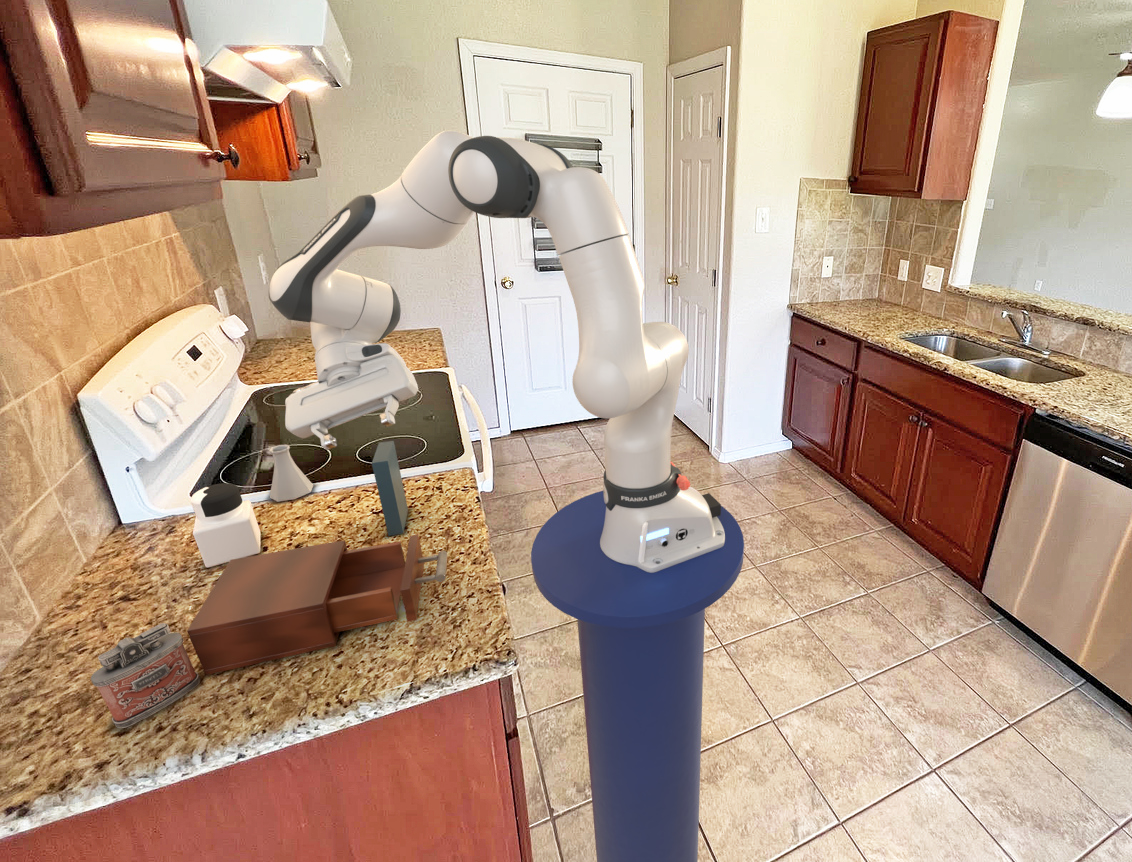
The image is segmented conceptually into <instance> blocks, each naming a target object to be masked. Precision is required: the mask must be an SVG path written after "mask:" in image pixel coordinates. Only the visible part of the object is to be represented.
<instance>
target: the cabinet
mask: <svg viewBox="0 0 1132 862" xmlns="http://www.w3.org/2000/svg"><path fill="white" fill-rule="evenodd" d="M348 550H349V549H348V546H347V543H346V540H345V539H343V540H339V541H331V542H327V543H326V542H325V543H320V544H315V545H309V546H303V547H298V548H297V547H296V548H291V549H285V550H280V551H274V552H267V553H263V554H255V555H251V556H248V557H244V558H238V559H232V560H230V562H227V565H226V567H225V568H224V569H223V571H222V573H221V575H220V576H219V578H218V580H217V581H216V583H215V585H214V586H213V587H212V589H211V591H210V592H209V594H208V595H207V598H206V599H205V601H204V603H203V604H202V606H201V607H200V608H199V610H198V611H197V614H196V615H195V617H194V619H193V620H192V622H191V624H190V625H189V626H188V628H187V630H186V632H187V635H188V637H189V639H190V642H191V644H192V647H193V649H194V651H195V654H196V656H197V658H198V661H199V663H200V666H201V668H202V670H203V672H204V674H205V676H208V675H213V674H218V673H222V672H226V671H231V670H234V669H238V668H244V667H247V666H253V665H257V664H261V663H265V662H271V661H275V660H278V659H279V660H280V659H284V658H288V657H293V656H298V655H301V654H306V653H310V652H314V651H318V650H324V649H328V648H333V647H336V646H337V642H338V639H339V635H340V632H336V633H334V630H333V627H332V624H331V620H330V617H329V614H328V610H327V607H326V601H327V598H328V595H329V593H330V590H331V587H332V584H333V581H334V578H335V575H336V572H337V569H338V566H339V563H340V560H341V557H342V555H343V552H344V551H348Z"/></svg>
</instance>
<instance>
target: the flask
mask: <svg viewBox="0 0 1132 862" xmlns="http://www.w3.org/2000/svg"><path fill="white" fill-rule="evenodd" d="M290 449H291V447H290V445H289V444H287V443H286V444H278V445H275V446H271V447H270V449H269V450H268V452H269V454H271V455H272V459H273V475H272V482H271V487H270V493H269V498H270V499H272V500H273V501H275V502H284V501H290V500H291V501H292V500H296V499H298V498H300V497H303V496H305V495H308V494H310V493H311V492H312V491H313V487H314V484H313V482H312V481H310V479H309V478H308V477H307V476H306V474H305V473H304V472H303V471H302V470H301V469H300V468H299V466H298V465H297V464H296V463H295V461H294V459H293V457H292V455H291V454H290Z"/></svg>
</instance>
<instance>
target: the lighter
mask: <svg viewBox="0 0 1132 862" xmlns="http://www.w3.org/2000/svg"><path fill="white" fill-rule="evenodd" d="M97 660H98V661H99V663H100V665H101V666H102V667H100V668H98V669H97V670H95V671H94V672H93V673H92V674H91V676H90V681H91V683H92V685H93V686H94V687H97V690H98V691H99V693H100V695H101V698H102V699H103V700H104V703H105V704H106V706H107V708H108V710H109V712H110V714H111V716H112V718H111V720H112V723H113V724H114V726H115V727H116V728H117V729H124V728H128V727H130V726H133V725H134V724H137V723H138V722H140V721H142V720H145V719H146V718H149V717H150V716H152V715H154V714H156V713H157V712H159V711H162V710H163V709H165V708H166V707H168V706H169V705H171V704H172V703H175V702H176V701H178V700H179V699H180V698H182V697H184V696H185V695H186V694H188V693H189V692H191V691H192V690H193V689H195V688H196V687H197V686H198V685H200V682H201V677H200V675H199V673H198V672H197V671H195V669H194V668H195V667H193V663H192V662H191V659H190V656H189V655H188V653H187V650H186V648H185V645H184V637H183V636H182V634H181V633H180V632H172V631H171V629H170V627H169V624H168V623H166V622H165V623H164V622H162V623H159V624H157V625H155V626H153V627H151V628H149V629H147V630H145V631H143V632H141V633H140V634H139V635H137V636H135V637H125V638H123V639H120V641H118V642H117V644H116V646H115V647H113V648H111V649H109V650H107V651H105V652H103V653H101V654H99V655H98V657H97Z"/></svg>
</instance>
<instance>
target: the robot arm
mask: <svg viewBox="0 0 1132 862" xmlns="http://www.w3.org/2000/svg"><path fill="white" fill-rule="evenodd" d="M475 214H479V215H481V216H484V217H489V218H493V219H530V218H531V219H532V218H536V219H538V220H540V221H541V223H543V224H544V225H545V226H546V229H547V230H548V233H549V234H550V236H551V239H552V242H553V245H554V248H555V251H556V254H557V256H558V259H559V262H560V264H561V268H562V270H563V273H564V276H565V279H566V282H567V285H568V288H569V291H570V294H571V296H572V297H571V298H572V299H573V304H574V307H575V312H576V318H577V328H578V357H577V361H576V365H575V368H574V371H573V374H572V389H573V393H574V395H575V398H576V400H577V401H578V403H579V404H580V405H581V407H582V408H583V409H584V410H585V411H586V412H588V413H589V414H591V415H593V416H595V417H597V418H599V419H600V418H601V419H608V421H607V423H606V425H605V429H604V434H603V442H604V443H603V444H604V461H605V462H604V464H605V465H604V466H605V469H604V471H603V482H602V489H603V490H602V491H603V493H604V502H605V504H606V514H605V522H604V528H603V532H602V535H601V538H600V547H601V549H602V551H603V552H604V554H605V555H606V556H608V557H609V558H610V559H612V560H614V561H616V562H619V563H622V564H627V565H632V566H636V567H638V568H640V569H642V570H644V571H646V572H649V573H654V572H657V571H660V570H662V569H665V568H668V567H670V566H673V565H676V564H679V563H681V562H684V561H687V560H689V559H692V558H695V557H697V556H700V555H703V554H705V553H708V552H711V551H713V550H716V549H719V548H721V547H723V546H724V543H725V533H724V529H723V526H722V524H721V522H720V521H719V519H718V518H717V516H720V515H721V506H722V504H721V503H720V502H719V501H718V500H717V499H716V498H715V497H714V496H713V495H712V494H711V493H709V492H708V493H705V494H702V493H700V491H698V490H697V489H696V488H694V487H692V486H691V481H690V480H689V479H688V477H687V476H686V475H682V471H681V470H680V468H679V467H677V466H676V465H675V463H674V462H672V461H671V460H672V459H671V457H672V455H671V454H672V453H671V451H672V428H673V421H674V416H675V411H676V406H677V402H678V396H679V389H680V385H681V381H682V375H683V372H684V369H685V366H686V363H687V361H688V359H689V353H690V352H689V351H690V350H689V343H688V340H687V338H686V336H685V334H684V333H683V332H682V330H680V329H679V328H678V327H677V326H676V325H674V324H672V323H669V322H667V321H651V322H643V298H644V297H643V296H644V294H645V291H646V283H645V279H644V276H643V272H642V270H641V267H640V263H639V261H638V257H637V254H636V251H635V249H634V246H633V245H634V244H633V242H632V239H631V236H630V233H629V230H628V227H627V225H626V222H625V219H624V217H623V214H622V212H621V209H620V208H619V205H618V203H617V201H616V198H615V197H614V194H613V193H612V191H611V189H610V187H609V186H608V183H607V182H606V180H605V178H604V177H603V175H601V174H600V173H599V172H598V171H596V170H594V169H592V168H589V167H583V166H577V167H576V166H573V164H572V163H571V161H570V159H568V158H567V156H566V155H564V154H563V153H562V152H561V151H560V150H558V149H556V148H554V147H552V146H550V145H547V144H542V143H535V142H533V141H532V142H531V141H528V140H526V139H523V138H518V137H510V136H509V137H508V136H499V137H498V136H497V137H496V136H493V135H480V136H475V137H473V136H471V135H469V134H467V133H464V132H462V131H459V130H454V129H451V130H450V129H448V130H443V131H441V132H439V133H436V135H434V136H433V137H432V138H431V139H430V140H429V141H428V142H427V143H426V144H425V145H424V146H423V147H422V148H421V149H420V150H419V151H418V152H417V153H416V154H415V155H414V157H413V158H412V159H411V160H410V162H409V163H408V164H407V166H406V167H405V168H404V170H403V171H402V173H401V175H400V176H399V177H398V179H397V180H395V181H394V182H393V183H391V184H390V185H389V186H387V187H386V188H383V189H382V190H379V191H377V192H374V193H371V194H363V195H358V196H356V197H354V198H353V199H352V200H350V201H349V202H348V203H347V204H345V205H344V206H343V207H342V208H341V209H340V210H339V211H338V212H337V213H336V214H335V215H334V216H333V217H331V219H329V221H328V222H327V223H326V224H324V225H323V227H322V228H321V229H320V230H319V231H318V232H317V233H316V234H314V236H313V237H312V238H311V239H310V240H309V241H308V242H307V243H306V244H305V245H304V246H303V247H302V248H301V249H300V250H299V251H298V252H297V253H296V254H294V255H292V256H291V257H290V258H288V259H286V260H285V261H283V262H282V263H281V264H280V265H279V266H278V267H277V268H276V270H275V271H274V273H273V274H272V277H271V279H270V282H269V286H268V298H269V301H270V302H271V304H272V305H273V306H274V308H275V309H276V310H277V311H278V312H279V314H281V315H282V316H283V317H284V318H285V319H286V320H289V321H296V322H303V323H309V324H310V339H311V343H312V346H313V348H314V349H315V354H314V364H315V370H316V377H317V381H315V382H312V383H309V384H308V385H306V386H302V387H299V388H296V389H294V390H293V391H292V393H290V394H289V395H288V397H286V398H285V400H284V401H285V402H284V403H285V415H284V424H285V425H284V426H285V429H286V430H287V431H288V432H289V433H291V434H292V435H294V436H295V437H298V438H299V439H300V438H301V439H307V438H310V437H312V436H316V437H317V438H319V440H320V445H321V447H322V448H323V449H324V450H326V451H329V450H331V449H334V448H337V447H338V444H337V438H336V437H334V436H333V435H332V434H330V433H329V431H328V430H330V429H333V428H335V427H338V426H340V425H343V424H345V423H348V422H351V421H354V420H356V419H358V418H361V417H363V416H366V415H369V414H373V413H375V412H378V411H380V410H382V409H384V408H385V409H384V412H383V413H380V414H379V419H380V422H381V424H382V425H383V426H384V427H385V428H387V427H390V426H393V425H395V424H396V419H395V416H396V413H397V412H398V409H399V407H400V404H399V403H400V402H402V401H405V400H408V399H410V398H413V397H415V396H416V395H417V393H418V392H419V384H418V382H417V380H416V378H415V375H414V374H413V372H412V371H411V369H409V367H408V366H407V364H406V361H405V360H404V358H403V357H402V356H401V355H400V353H399V352H397V350H396V349H395V348H394V347H392V346H391V345H390V344H388V343H387V342H382V343H381V341H382V340H384V339H385V338H386V337H387V336H389V335H390V334H392V332H393V331H394V330H395V329H396V328H397V326H398V324H399V322H400V319H401V315H402V313H401V311H402V308H401V302H400V299H399V297H398V294H397V292H396V290H395V289H394V287H393V286H392V285H391V284H390V283H386V282H383V281H380V280H377V279H374V278H370V277H367V276H364V275H359V274H356V273H351V272H348V271H345V270H341V269H338V268H339V267H340V266H342V265H343V263H345V261H346V260H347V259H349V258H350V257H352V255H353V254H354V253H355V252H357V251H359V250H362V249H365V248H372V247H397V248H406V249H407V248H408V249H414V250H432V249H437V248H442V247H445V246H447V245H449V244H450V243H452V242H453V241H454V240H455V239H456V238H458V237H459V235H460V234H461V233H462V232H463V231H464V229H465V228H466V226H467V225H468V224H469V223H470V221H471V220H472V218H473V217H474V216H475ZM379 342H380V343H379Z"/></svg>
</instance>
